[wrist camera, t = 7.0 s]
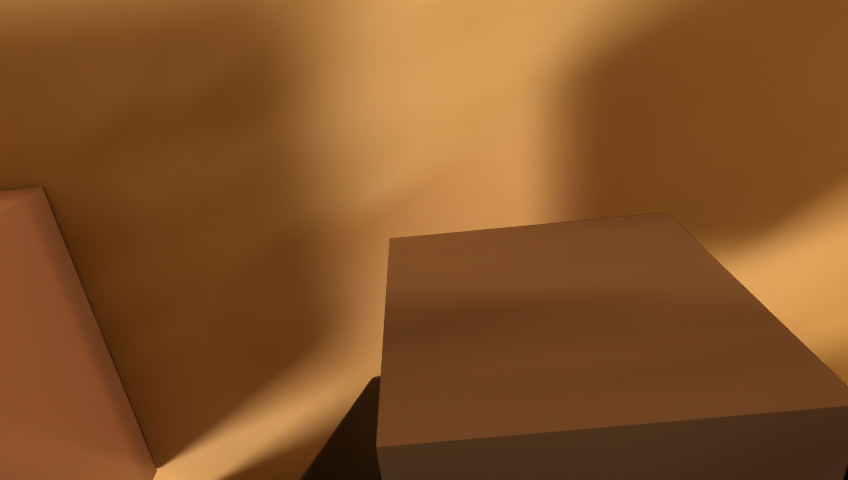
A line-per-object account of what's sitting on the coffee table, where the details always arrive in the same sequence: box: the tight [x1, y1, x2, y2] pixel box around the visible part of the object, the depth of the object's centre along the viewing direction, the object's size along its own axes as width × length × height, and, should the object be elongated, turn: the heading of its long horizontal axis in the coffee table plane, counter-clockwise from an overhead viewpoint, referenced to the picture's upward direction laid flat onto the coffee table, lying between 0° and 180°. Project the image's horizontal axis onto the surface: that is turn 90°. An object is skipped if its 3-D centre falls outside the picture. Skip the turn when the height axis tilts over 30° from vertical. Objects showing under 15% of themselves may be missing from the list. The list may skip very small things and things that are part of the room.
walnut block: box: [376, 213, 848, 480], centre depth 7 cm, size 4×4×4 cm
